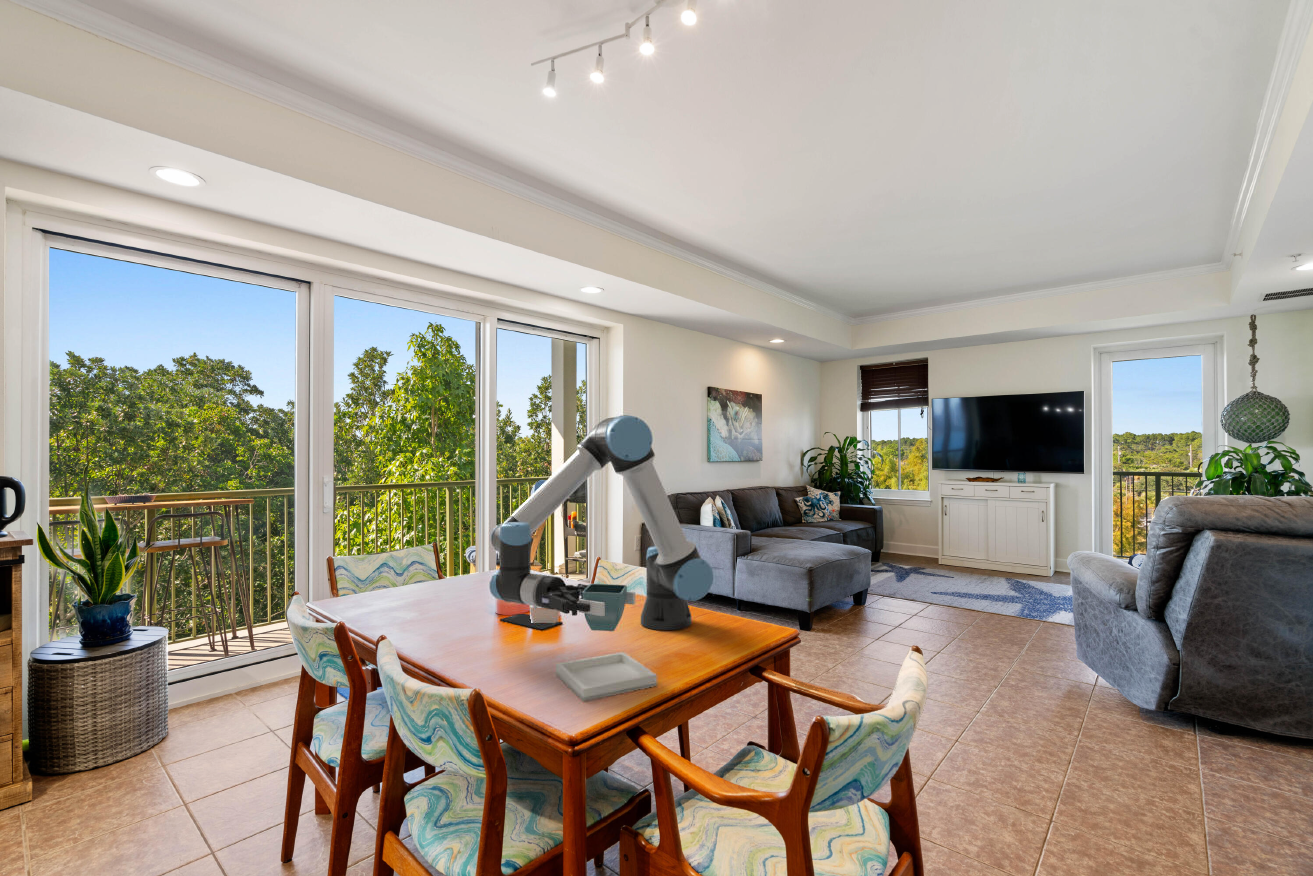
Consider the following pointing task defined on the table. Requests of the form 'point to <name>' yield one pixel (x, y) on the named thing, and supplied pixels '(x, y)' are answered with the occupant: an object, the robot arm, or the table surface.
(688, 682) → the table surface
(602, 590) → the flower pot
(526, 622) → the cell phone
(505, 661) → the table surface
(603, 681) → the tray
